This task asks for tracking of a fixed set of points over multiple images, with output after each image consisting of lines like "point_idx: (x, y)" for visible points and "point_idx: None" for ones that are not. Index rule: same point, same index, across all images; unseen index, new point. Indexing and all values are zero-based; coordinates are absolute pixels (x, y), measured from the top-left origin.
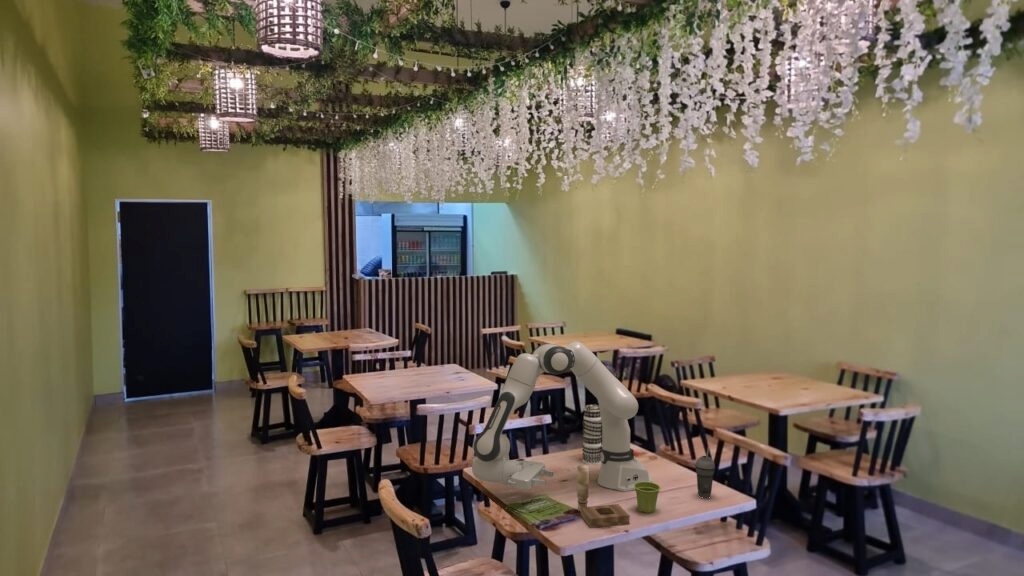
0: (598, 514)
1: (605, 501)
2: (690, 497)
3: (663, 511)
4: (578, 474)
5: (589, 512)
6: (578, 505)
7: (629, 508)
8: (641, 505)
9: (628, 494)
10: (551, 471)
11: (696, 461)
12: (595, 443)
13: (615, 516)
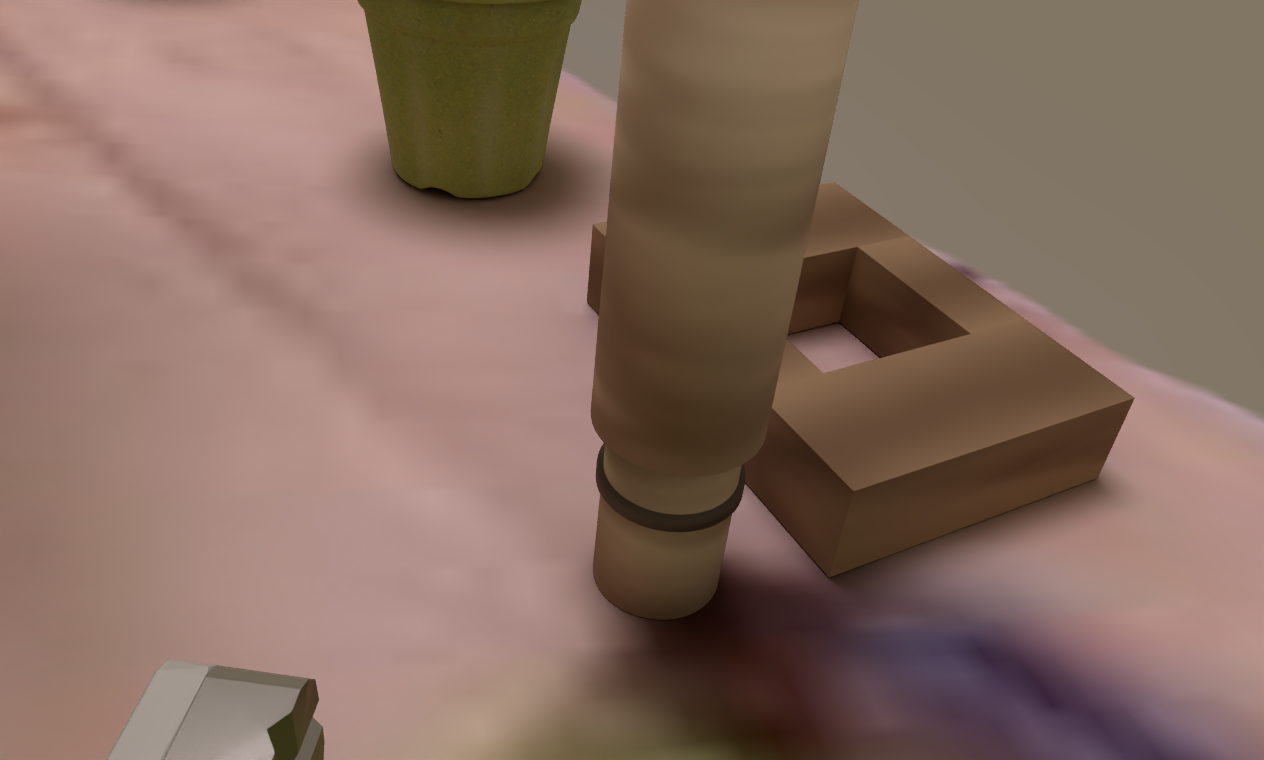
0: (963, 345)
1: (291, 379)
2: (187, 13)
3: None
4: (827, 77)
5: (961, 411)
6: (705, 552)
7: (464, 240)
8: (536, 133)
9: (77, 231)
10: (188, 703)
11: None
12: None
13: (920, 247)
